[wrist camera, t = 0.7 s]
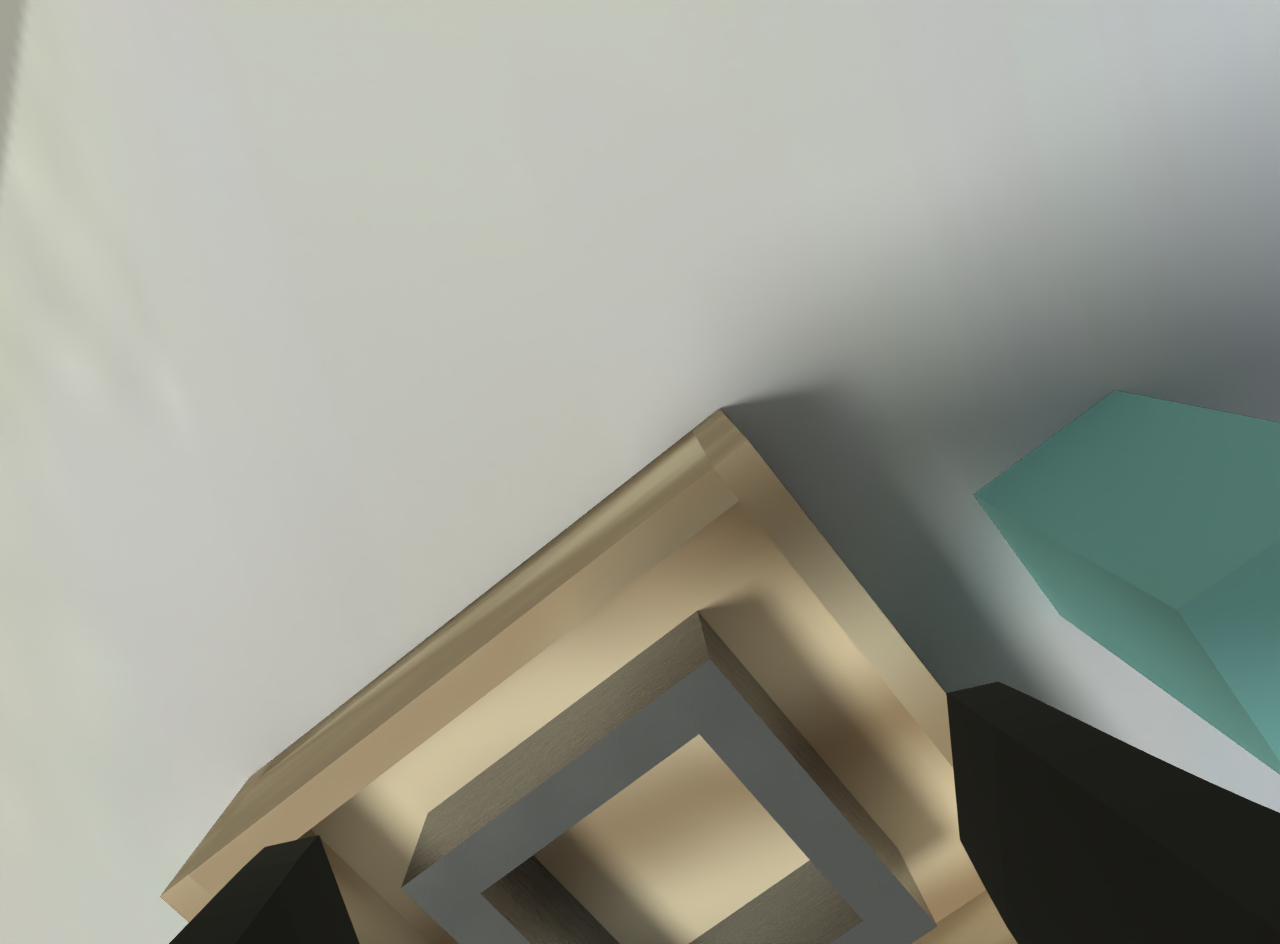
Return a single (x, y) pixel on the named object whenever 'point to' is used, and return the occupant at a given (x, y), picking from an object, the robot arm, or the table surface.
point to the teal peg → (1162, 550)
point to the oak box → (583, 658)
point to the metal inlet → (620, 754)
